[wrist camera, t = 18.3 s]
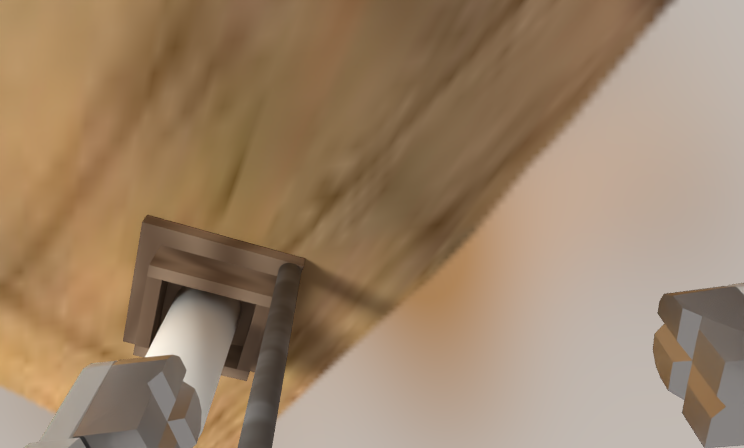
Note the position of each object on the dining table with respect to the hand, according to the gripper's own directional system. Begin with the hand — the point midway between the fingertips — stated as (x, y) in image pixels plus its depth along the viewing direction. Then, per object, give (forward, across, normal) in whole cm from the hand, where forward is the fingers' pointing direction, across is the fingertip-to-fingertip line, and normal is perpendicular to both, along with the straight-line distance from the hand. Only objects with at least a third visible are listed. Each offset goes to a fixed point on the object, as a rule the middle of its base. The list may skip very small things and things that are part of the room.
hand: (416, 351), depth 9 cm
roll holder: (+34, -19, -23) cm, 45 cm away
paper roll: (+33, -19, -23) cm, 44 cm away
